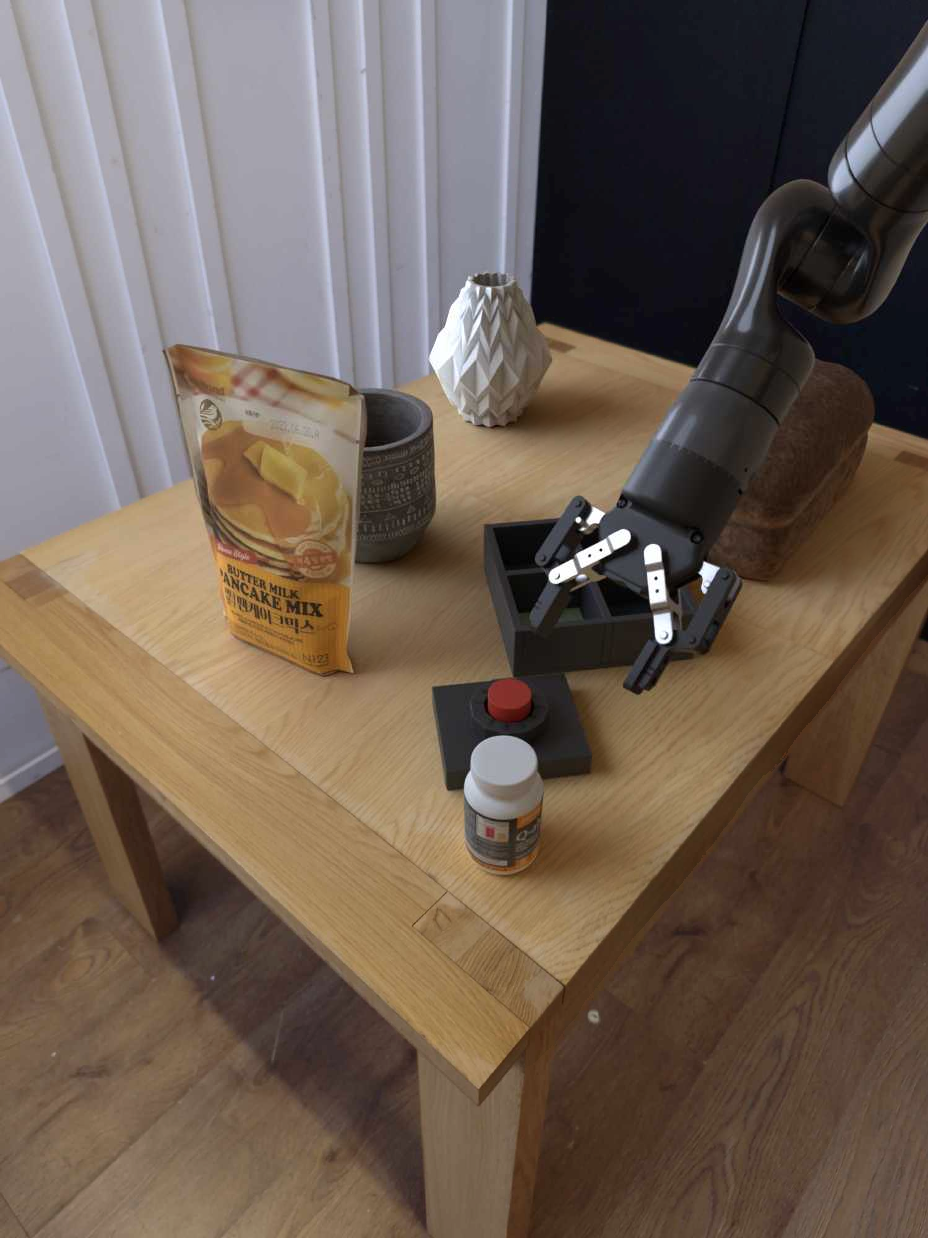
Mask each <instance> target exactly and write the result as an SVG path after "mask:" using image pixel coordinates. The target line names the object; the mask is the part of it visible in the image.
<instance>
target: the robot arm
mask: <svg viewBox="0 0 928 1238" xmlns="http://www.w3.org/2000/svg"><path fill="white" fill-rule="evenodd" d="M927 223H928V19H927V20H926V22H925V23H924V25H923V27H922V28H921V29H920V31H919V33H918V34H917V35H916V37H915V39H914V40H913V41H912V43H911V45H910V46H909V47H908V49H907V50H906V51H905V53H904V54H903V56H902V58H901V59H900V60H899V62H898V63H897V64H896V66H895V67H894V69H893V70H892V72H891V73H890V74H889V76H888V77H887V78H886V80H885V81H884V83H883V84H881V87H880V88H879V89H878V91H877V93H876V94H875V95H874V96H873V97H872V99H871V100H870V102H869V103H868V104H867V106H866V107H865V108H864V110H863V112H862V113H861V114H860V116H859V117H858V118H857V120H856V121H855V123H854V124H853V126H851V128H850V129H849V131H848V132H847V134H846V135H845V136H844V138H843V139H842V140H841V142H840V143H839V145H838V146H837V148H836V150H835V152H834V154H833V155H832V157H831V160H830V163H829V166H828V171H827V186H825V185H823V184H821V183H820V182H818V181H815V180H812V179H807V178H800V179H794V180H791V181H789V182H786V183H784V184H783V185H781V186H779V187H778V188H776V189H775V190H774V191H773V192H772V193H770V195H768V196H767V198H766V199H764V201H763V202H762V204H761V205H760V207H759V208H758V210H757V212H756V214H755V215H754V217H753V219H752V221H751V224H750V227H749V230H748V233H747V236H746V239H745V243H744V246H743V250H742V254H741V258H740V262H739V267H738V270H737V275H736V279H735V283H734V285H733V290H732V293H731V297H730V300H729V302H728V305H727V309H726V312H725V314H724V316H723V319H722V321H721V323H720V326H719V328H718V330H717V332H716V333H715V335H714V337H713V339H712V341H711V343H710V344H709V347H708V348H707V350H706V352H705V354H704V356H703V357H702V358H701V361H700V362H699V364H698V366H697V367H696V369H695V371H694V373H693V374H692V376H691V377H690V379H689V382H688V383H687V384H686V386H685V387H684V389H683V390H682V391H681V393H680V394H679V395H678V397H677V398H676V399H675V400H674V402H673V403H672V405H671V406H670V407H669V409H668V410H667V412H666V414H665V415H664V416H663V419H662V420H661V422H660V423H659V425H658V427H657V428H656V430H655V432H654V434H653V436H651V439H650V440H649V442H648V444H647V446H646V448H645V449H644V451H643V453H642V454H641V456H640V458H639V460H638V461H637V463H636V465H635V466H634V468H633V469H632V472H631V473H630V475H629V476H628V478H627V480H626V482H625V484H624V486H623V487H622V489H621V492H620V493H619V494H620V495H619V497H618V500H617V502H616V504H615V505H614V506H613V507H612V508H611V509H610V510H608V511H606V512H604V511H602V510H600V509H599V508H597V507H595V506H594V505H593V504H592V503H591V502H589V500H587V499H586V498H585V497H583V496H582V495H576V496H573V497H572V498H571V500H570V502H569V503H568V504H567V506H566V508H565V509H564V511H563V512H562V514H561V516H560V517H559V518H560V519H559V520H558V522H557V523H556V525H555V527H554V528H553V530H552V531H551V533H550V534H549V536H548V537H547V539H546V540H545V542H544V544H543V545H542V547H541V548H540V550H539V551H538V553H537V554H536V557H535V562H536V563H537V564H538V565H539V566H540V567H541V568H542V569H543V571H544V572H545V573H546V575H547V577H548V583H547V585H546V587H545V589H544V591H543V592H542V594H541V596H540V598H539V599H538V602H537V603H536V604H535V607H534V608H533V610H532V611H531V614H530V619H529V620H530V621H532V623H531V625H530V630H531V631H533V632H534V633H536V634H538V635H540V636H542V637H544V638H547V637H549V636H550V634H551V633H552V631H553V629H554V627H555V626H556V624H557V622H558V621H559V619H560V617H561V615H562V614H563V612H564V610H565V608H566V607H567V605H568V603H569V602H570V600H571V598H572V596H571V595H569V592H571V591H574V590H576V589H578V588H580V587H582V586H584V585H586V584H588V583H590V582H596V581H600V580H602V579H604V578H606V577H607V578H609V579H610V580H612V581H613V582H615V583H617V584H618V585H620V586H622V587H627V588H630V589H631V590H632V591H634V592H635V593H637V594H638V595H639V596H641V597H643V598H645V599H647V600H648V601H649V599H650V607H651V610H652V612H653V617H654V628H655V639H654V641H653V642H652V641H651V640H648V642H647V643H646V645H645V647H644V648H643V650H642V652H641V653H640V655H639V657H638V659H637V660H636V662H635V664H634V665H632V666H631V669H630V670H629V672H628V674H627V676H626V677H625V679H624V680H623V682H622V688H624V689H625V690H626V691H629V692H630V693H632V694H634V695H637V696H640V695H641V694H642V693H643V692H644V691H647V692H650V691H651V690H653V689H654V688H655V687H656V685H657V684H658V682H659V680H660V678H661V677H662V674H663V673H664V672H665V670H666V668H667V667H668V665H669V663H670V662H671V661H670V660H671V658H672V657H673V655H674V654H676V653H678V652H689V653H694V655H697V656H701V657H702V656H705V655H707V654H708V653H709V652H710V651H711V648H712V646H713V644H714V642H715V640H716V639H717V637H718V635H719V633H720V631H721V629H722V627H723V625H724V624H725V621H726V620H727V617H728V616H729V614H730V612H731V610H732V608H733V605H735V602H736V600H737V598H738V596H739V594H740V592H741V591H742V589H743V587H744V586H743V585H744V583H743V580H742V578H741V577H740V576H738V575H737V574H736V573H735V572H734V571H733V570H732V569H731V568H729V567H722V568H720V567H717V566H715V565H712V564H710V563H707V558H708V554H709V551H710V549H711V548H712V546H713V545H714V544H715V543H716V541H717V539H718V538H719V536H720V534H721V533H722V531H723V529H724V527H725V526H726V524H727V522H728V521H729V519H730V517H731V516H732V514H733V512H734V511H735V509H736V507H737V506H738V504H739V502H740V500H741V499H742V497H743V495H744V494H745V492H746V490H747V489H748V487H749V486H750V485H752V483H753V482H754V480H755V478H756V476H757V474H758V470H759V468H760V467H761V465H762V463H763V461H764V459H765V457H766V455H767V453H768V451H769V448H770V446H771V443H772V441H773V439H774V436H775V435H776V433H777V431H778V428H779V427H780V426H781V424H782V422H783V421H784V419H785V417H786V416H787V414H788V412H789V410H790V409H791V407H792V405H793V404H794V402H795V400H796V399H797V397H798V395H799V394H800V392H801V390H802V389H803V387H804V385H805V383H806V382H807V380H808V378H809V376H810V374H811V372H812V370H813V367H814V363H815V358H816V355H815V352H814V350H813V347H812V345H811V343H810V342H809V341H808V340H807V339H806V338H805V337H804V336H803V335H802V333H800V331H798V329H796V327H795V326H794V325H793V324H792V323H791V322H789V320H788V319H787V317H785V316H784V314H783V312H782V311H781V309H780V307H779V303H778V295H780V296H781V297H783V298H784V299H786V300H788V301H789V302H791V303H793V304H795V305H796V306H798V307H800V308H801V309H804V310H805V311H808V313H810V314H812V315H814V316H815V317H817V318H818V319H820V320H822V321H825V322H828V323H830V324H834V325H850V324H852V323H857V322H859V321H861V320H864V319H866V318H867V317H869V316H871V315H872V314H873V313H875V312H876V311H877V310H878V309H879V308H880V306H881V305H882V304H883V303H884V302H885V301H886V299H887V298H888V296H889V294H890V293H891V291H892V289H893V287H894V286H895V284H896V282H897V280H898V278H899V276H900V274H901V271H902V269H903V267H904V265H905V262H906V260H907V258H908V256H909V253H910V252H911V249H912V248H913V246H914V244H915V242H916V240H917V238H918V237H919V235H920V233H921V232H922V230H923V229H924V227H925V226H926V225H927ZM597 527H598V531H599V543H597V544H595V545H593V546H591V547H589V548H587V549H585V550H583V551H581V552H579V553H578V554H576V555H575V556H574V558H573V559H572V560H570V561H568V560H569V559H570V557H571V555H572V554H573V552H574V551H575V549H576V548H577V546H578V545H579V543H580V542H581V540H582V539H583V537H584V536H585V534H590V533H592V532H593V531H594V529H595V528H597ZM701 578H702V583H701V587H700V589H701V592H702V594H703V595H704V596H703V597H702V599H701V601H700V603H699V604H698V606H699V607H698V609H697V611H696V613H695V615H694V617H693V619H692V621H691V622H690V624H689V626H688V628H687V630H686V631H682V623H681V617H682V605H681V595H680V588H681V587H683V586H686V585H687V586H688V585H689V584H692V583H693V582H695V581H697V580H699V579H701Z"/></svg>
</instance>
